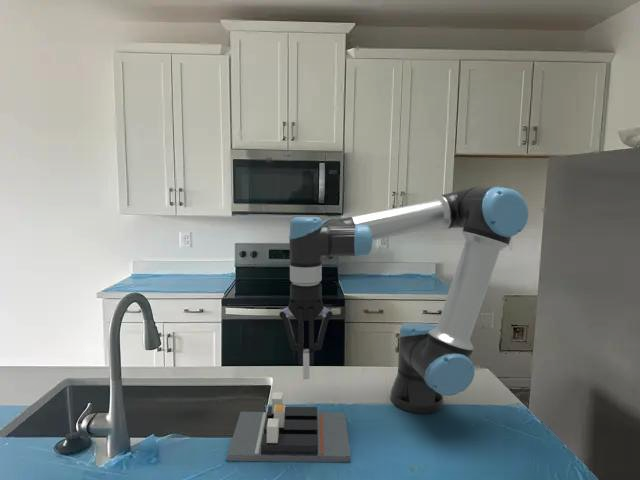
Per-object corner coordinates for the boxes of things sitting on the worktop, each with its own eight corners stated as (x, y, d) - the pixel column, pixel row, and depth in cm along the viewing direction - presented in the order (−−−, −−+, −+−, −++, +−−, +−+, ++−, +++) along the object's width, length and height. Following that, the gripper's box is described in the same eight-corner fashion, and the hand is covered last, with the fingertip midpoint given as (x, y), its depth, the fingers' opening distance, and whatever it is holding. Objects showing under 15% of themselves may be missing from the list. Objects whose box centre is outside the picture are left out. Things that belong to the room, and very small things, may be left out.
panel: (344, 418, 120) (344, 405, 119) (350, 462, 101) (351, 447, 101) (240, 416, 119) (240, 404, 119) (227, 461, 100) (227, 446, 100)
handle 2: (278, 434, 105) (278, 418, 104) (277, 443, 101) (277, 426, 101) (268, 434, 105) (268, 418, 104) (266, 442, 101) (266, 426, 101)
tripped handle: (284, 419, 111) (285, 404, 111) (284, 427, 108) (284, 411, 107) (274, 419, 111) (275, 404, 111) (273, 427, 108) (273, 411, 107)
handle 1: (282, 406, 118) (282, 392, 117) (281, 413, 114) (281, 399, 114) (273, 406, 118) (273, 392, 117) (271, 413, 114) (271, 398, 114)
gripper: (332, 278, 109) (332, 369, 112) (279, 278, 109) (280, 370, 112) (334, 285, 101) (333, 383, 105) (277, 286, 101) (278, 383, 104)
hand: (306, 376), depth 108 cm, fingers closed
